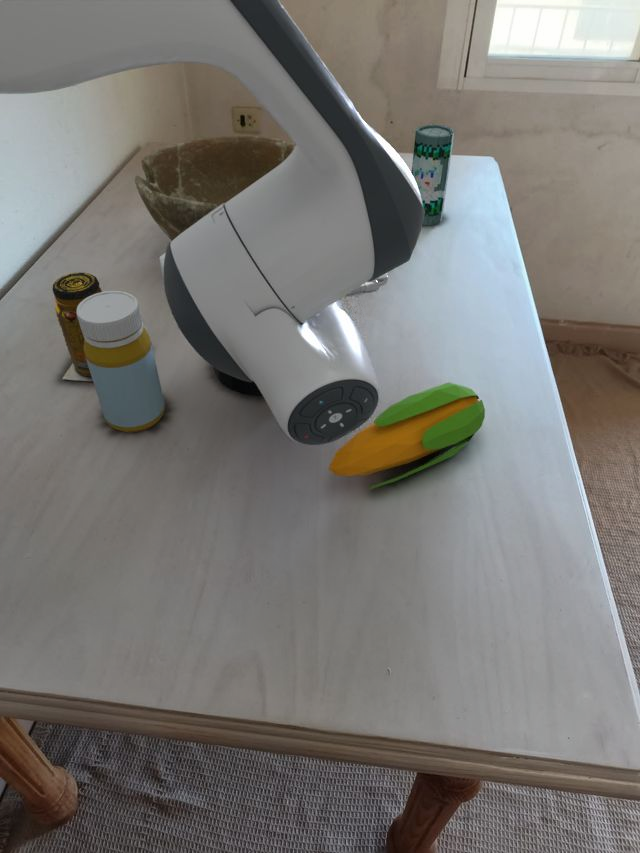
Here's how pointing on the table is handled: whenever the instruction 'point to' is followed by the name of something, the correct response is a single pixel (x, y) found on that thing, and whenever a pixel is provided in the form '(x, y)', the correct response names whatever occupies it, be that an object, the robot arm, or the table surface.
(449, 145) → the can
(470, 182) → the table surface
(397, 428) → the corn
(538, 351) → the table surface
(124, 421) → the bottle
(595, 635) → the table surface
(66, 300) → the condiment
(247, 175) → the bowl
